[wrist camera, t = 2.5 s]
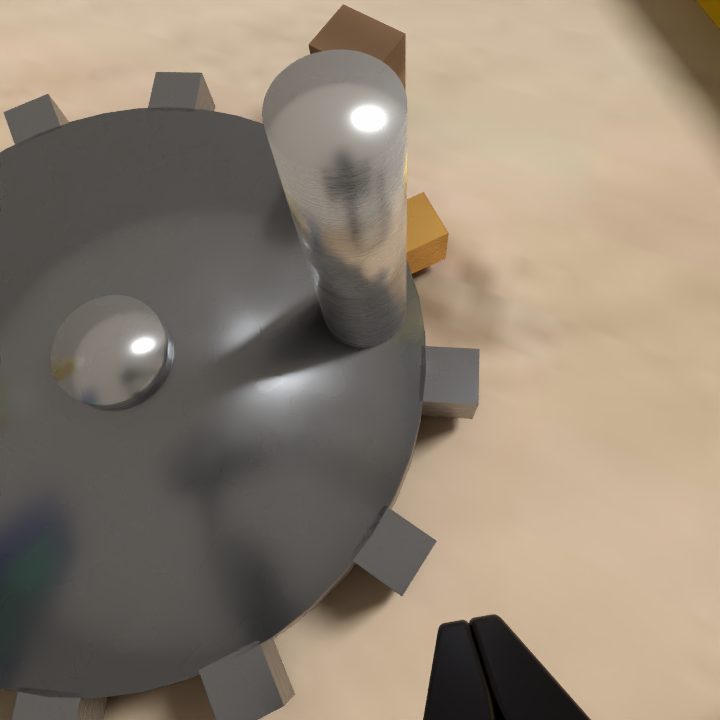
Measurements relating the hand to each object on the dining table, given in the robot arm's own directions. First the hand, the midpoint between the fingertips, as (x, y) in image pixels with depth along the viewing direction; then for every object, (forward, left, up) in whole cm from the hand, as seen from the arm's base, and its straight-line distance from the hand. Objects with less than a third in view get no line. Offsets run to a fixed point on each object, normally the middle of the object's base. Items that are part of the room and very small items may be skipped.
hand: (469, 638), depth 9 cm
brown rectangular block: (+16, +14, -14) cm, 25 cm away
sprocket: (+1, +14, -14) cm, 20 cm away
